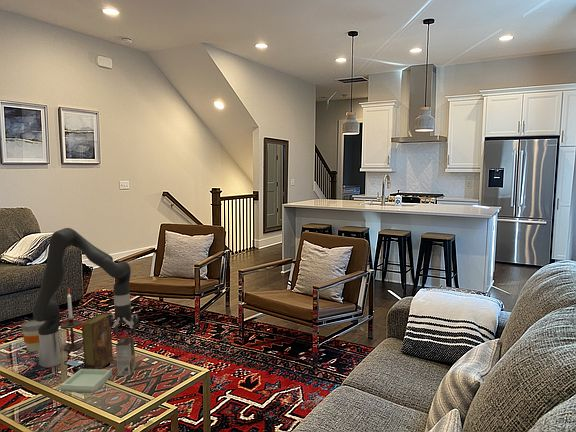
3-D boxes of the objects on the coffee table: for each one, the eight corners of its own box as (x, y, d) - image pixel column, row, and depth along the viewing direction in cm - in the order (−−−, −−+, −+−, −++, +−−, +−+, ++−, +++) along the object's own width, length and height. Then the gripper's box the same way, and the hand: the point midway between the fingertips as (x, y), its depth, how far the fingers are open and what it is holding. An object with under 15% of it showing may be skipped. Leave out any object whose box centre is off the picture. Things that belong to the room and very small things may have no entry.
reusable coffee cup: (37, 342, 253) (35, 318, 251) (54, 345, 249) (52, 320, 247) (18, 351, 241) (15, 325, 239) (35, 354, 237) (33, 327, 235)
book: (105, 358, 230) (102, 313, 227) (114, 359, 229) (111, 313, 226) (84, 372, 214) (81, 324, 211) (94, 373, 213) (91, 324, 210)
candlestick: (73, 343, 251) (68, 284, 247) (87, 345, 248) (83, 285, 244) (57, 350, 241) (52, 289, 237) (72, 353, 237) (68, 291, 234)
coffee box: (122, 367, 219) (121, 337, 217) (136, 366, 219) (134, 336, 217) (117, 376, 210) (115, 344, 208) (131, 375, 210) (129, 343, 208)
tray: (60, 391, 196) (60, 384, 196) (81, 374, 212) (81, 368, 211) (93, 392, 194) (93, 386, 194) (112, 375, 210) (111, 369, 210)
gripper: (104, 305, 208) (106, 337, 209) (132, 305, 206) (134, 338, 208) (112, 300, 215) (114, 331, 217) (139, 300, 213) (141, 332, 215)
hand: (124, 334), depth 212 cm, fingers open, 8 cm apart
